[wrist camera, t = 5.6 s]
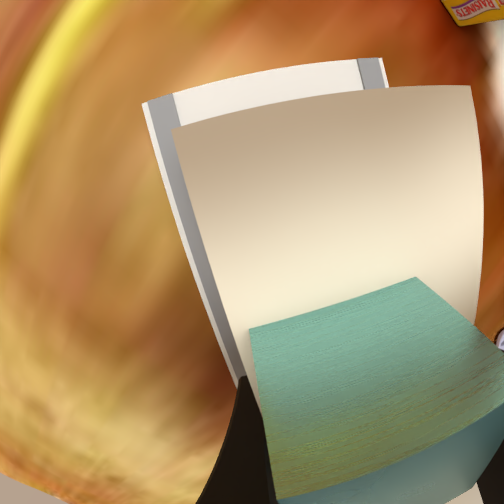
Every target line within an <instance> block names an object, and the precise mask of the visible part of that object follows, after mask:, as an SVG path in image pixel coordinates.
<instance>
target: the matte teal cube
mask: <svg viewBox="0 0 504 504" xmlns="http://www.w3.org/2000/svg"><path fill="white" fill-rule="evenodd" d="M249 334H250V340H251V347H252V353H253V359H254V366H255V372H256V379H257V385H258V391H259V397H260V404H261V410H262V416H263V422H264V428H265V434H266V440H267V446H268V452H269V458H270V464H271V470H272V476H273V482H274V487H275V493H276V499H277V501H278V503H279V504H445V503H447V502H449V501H450V500H452V499H454V498H456V497H457V496H459V495H461V494H463V493H464V492H466V491H468V490H469V489H471V488H472V487H473V486H474V484H475V483H476V481H477V480H478V479H479V477H480V476H481V474H482V473H483V471H484V470H485V468H486V467H487V465H488V464H489V462H490V461H491V459H492V458H493V456H494V454H495V453H496V451H497V450H498V448H499V446H500V445H501V443H502V441H503V439H504V353H503V352H502V351H501V350H500V349H499V348H498V347H497V346H496V345H495V344H494V343H493V342H491V341H490V340H489V339H488V338H487V337H486V336H485V335H484V334H483V333H482V332H481V331H479V330H478V329H477V328H476V327H475V326H474V325H473V324H472V323H470V322H469V321H468V320H467V319H466V318H465V317H464V316H462V315H461V314H460V313H459V312H458V311H457V310H456V309H454V308H453V307H452V306H451V305H450V304H449V303H447V302H446V301H445V300H444V299H443V298H441V297H440V296H439V295H438V294H437V293H435V292H434V291H433V290H432V289H431V288H429V287H428V286H427V285H426V284H424V283H423V282H422V281H421V280H420V279H418V278H417V277H413V278H410V279H407V280H405V281H402V282H399V283H396V284H393V285H391V286H388V287H385V288H382V289H379V290H376V291H373V292H370V293H367V294H364V295H361V296H358V297H355V298H352V299H349V300H346V301H343V302H340V303H337V304H333V305H330V306H327V307H324V308H320V309H317V310H314V311H311V312H307V313H304V314H300V315H297V316H294V317H290V318H287V319H283V320H279V321H276V322H272V323H269V324H265V325H261V326H258V327H254V328H250V329H249Z"/></svg>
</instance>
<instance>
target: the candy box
mask: <svg viewBox="0 0 504 504" xmlns="http://www.w3.org/2000/svg"><path fill="white" fill-rule="evenodd" d="M441 2H442V3H443V4H444V6H445V7H446V9H447V10H448V12H449V13H450V15H451V16H452V18H453V19H454V21H455V22H456V24H457V25H458V26H466V25H472V24H478V23H484V22H490V21H496V20H502V19H504V0H441Z"/></svg>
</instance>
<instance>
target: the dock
mask: <svg viewBox="0 0 504 504" xmlns="http://www.w3.org/2000/svg"><path fill="white" fill-rule="evenodd" d="M378 88H389V86H388V82H387V77H386V73H385V69H384V65H383V61H382V58H362V59H354V60H341V61H331V62H321V63H313V64H305V65H298V66H291V67H285V68H279V69H273V70H267V71H262V72H257V73H252V74H247V75H242V76H237V77H233V78H229V79H224V80H220V81H216V82H212V83H208V84H204V85H201V86H197V87H193V88H190V89H186V90H183V91H179V92H176V93H173V94H172V93H171V94H168V95H165V96H162V97H159V98H156V99H153V100H150V101H147V102H145V103H142V107H143V111H144V115H145V118H146V122H147V126H148V130H149V133H150V137H151V141H152V144H153V148H154V151H155V155H156V158H157V162H158V165H159V169H160V172H161V176H162V179H163V182H164V186H165V189H166V192H167V196H168V199H169V202H170V205H171V208H172V212H173V215H174V218H175V221H176V224H177V227H178V230H179V233H180V237H181V240H182V243H183V246H184V249H185V252H186V255H187V258H188V260H189V263H190V266H191V269H192V272H193V275H194V278H195V281H196V284H197V286H198V289H199V292H200V295H201V298H202V300H203V303H204V306H205V308H206V311H207V314H208V317H209V319H210V322H211V325H212V327H213V330H214V333H215V335H216V338H217V340H218V343H219V346H220V348H221V351H222V353H223V356H224V358H225V361H226V363H227V366H228V368H229V371H230V373H231V376H232V378H233V381H234V383H235V386H236V388H238V380H239V379H240V377H241V376H246V375H247V374H246V371H245V368H244V365H243V362H242V359H241V357H240V354H239V351H238V348H237V345H236V342H235V339H234V336H233V333H232V330H231V328H230V325H229V322H228V319H227V316H226V313H225V310H224V307H223V304H222V301H221V297H220V294H219V291H218V288H217V285H216V282H215V279H214V276H213V273H212V269H211V266H210V263H209V260H208V257H207V254H206V250H205V247H204V244H203V241H202V237H201V234H200V231H199V227H198V224H197V221H196V217H195V214H194V211H193V207H192V204H191V200H190V197H189V193H188V190H187V187H186V183H185V179H184V176H183V172H182V169H181V165H180V162H179V158H178V154H177V151H176V147H175V143H174V140H173V136H172V132H171V129H174V128H177V127H180V126H184V125H187V124H191V123H194V122H198V121H201V120H205V119H209V118H212V117H216V116H220V115H224V114H228V113H232V112H236V111H240V110H245V109H249V108H254V107H258V106H263V105H268V104H273V103H278V102H283V101H289V100H294V99H300V98H306V97H312V96H319V95H325V94H333V93H340V92H348V91H357V90H367V89H378Z"/></svg>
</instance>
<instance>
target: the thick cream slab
mask: <svg viewBox="0 0 504 504" xmlns="http://www.w3.org/2000/svg"><path fill="white" fill-rule="evenodd" d="M171 132H172V136H173V140H174V143H175V147H176V151H177V154H178V158H179V162H180V165H181V169H182V172H183V176H184V179H185V183H186V187H187V190H188V193H189V197H190V200H191V204H192V207H193V211H194V214H195V217H196V221H197V224H198V227H199V231H200V234H201V237H202V241H203V244H204V247H205V250H206V254H207V257H208V260H209V263H210V266H211V269H212V273H213V276H214V279H215V282H216V285H217V288H218V291H219V294H220V297H221V301H222V304H223V307H224V310H225V313H226V316H227V319H228V322H229V325H230V328H231V330H232V333H233V336H234V339H235V342H236V345H237V348H238V351H239V354H240V357H241V359H242V362H243V365H244V368H245V371H246V374H247V376H248V379H249V382H250V385H251V388H252V390H253V393H254V396H255V398H256V401H257V404H258V407H259V409H260V412H261V415H262V410H261V404H260V397H259V391H258V385H257V379H256V372H255V366H254V359H253V353H252V347H251V340H250V334H249V329H250V328H254V327H258V326H261V325H265V324H269V323H272V322H276V321H279V320H283V319H287V318H290V317H294V316H297V315H300V314H304V313H307V312H311V311H314V310H317V309H320V308H324V307H327V306H330V305H333V304H337V303H340V302H343V301H346V300H349V299H352V298H355V297H358V296H361V295H364V294H367V293H370V292H373V291H376V290H379V289H382V288H385V287H388V286H391V285H393V284H396V283H399V282H402V281H405V280H407V279H410V278H413V277H417V278H418V279H420V280H421V281H422V282H423V283H424V284H426V285H427V286H428V287H429V288H431V289H432V290H433V291H434V292H435V293H437V294H438V295H439V296H440V297H441V298H443V299H444V300H445V301H446V302H447V303H449V304H450V305H451V306H452V307H453V308H454V309H456V310H457V311H458V312H459V313H460V314H461V315H462V316H464V317H465V318H466V319H467V320H468V321H469V322H470V323H472V324H473V325H474V322H475V316H476V309H477V302H478V295H479V286H480V276H481V264H482V249H483V182H482V166H481V154H480V145H479V136H478V129H477V122H476V115H475V109H474V104H473V98H472V93H471V88H470V86H457V85H440V86H408V87H391V88H378V89H367V90H357V91H348V92H340V93H333V94H325V95H319V96H312V97H306V98H300V99H294V100H289V101H283V102H278V103H273V104H268V105H263V106H258V107H254V108H249V109H245V110H240V111H236V112H232V113H228V114H224V115H220V116H216V117H212V118H209V119H205V120H201V121H198V122H194V123H191V124H187V125H184V126H180V127H177V128H174V129H171ZM262 417H263V416H262Z"/></svg>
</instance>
